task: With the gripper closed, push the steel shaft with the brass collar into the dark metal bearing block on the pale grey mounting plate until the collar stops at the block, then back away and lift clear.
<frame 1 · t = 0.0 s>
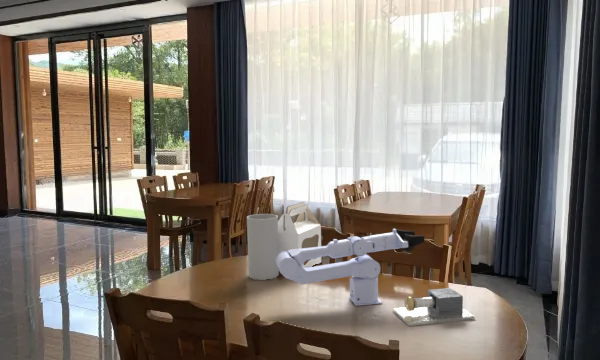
hand: (419, 236, 165), 22 cm above the table, tool horizontal, fingers open, 7 cm apart
cylinder vase: (263, 276, 194), on the table
bearing block: (444, 314, 151), on the table
shaft: (429, 301, 149), point 4 cm above the table, slide at 0.0 cm
gable box: (297, 267, 206), on the table
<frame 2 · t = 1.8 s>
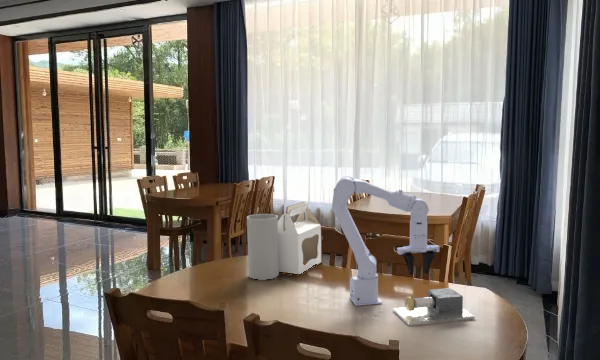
hand: (418, 273, 160), 10 cm above the table, tool pointing down, fingers open, 5 cm apart
nothing on the table moved.
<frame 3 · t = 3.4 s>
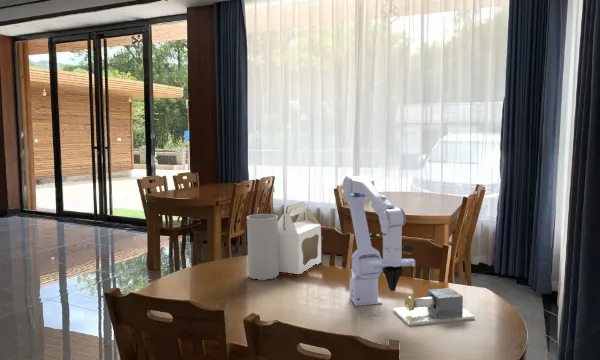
hand: (392, 289, 147), 9 cm above the table, tool pointing down, fingers closed
nothing on the table moved.
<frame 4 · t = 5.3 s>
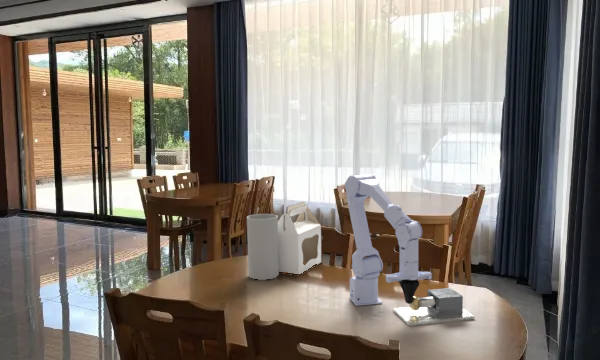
hand: (408, 302, 148), 5 cm above the table, tool pointing down, fingers closed
shaft: (433, 301, 150), point 4 cm above the table, slide at 1.5 cm, touching gripper
everything else where it was.
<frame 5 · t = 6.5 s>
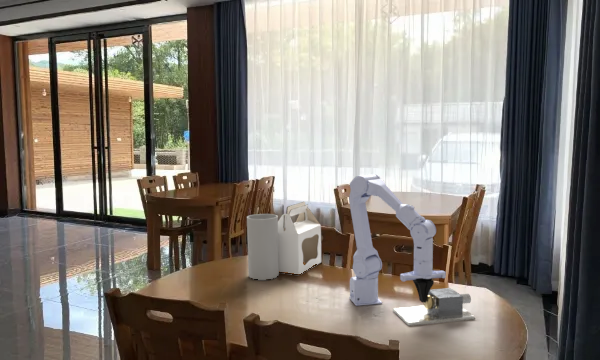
hand: (422, 301, 149), 5 cm above the table, tool pointing down, fingers closed
shaft: (447, 300, 150), point 5 cm above the table, slide at 6.4 cm, touching gripper
everything else where it was.
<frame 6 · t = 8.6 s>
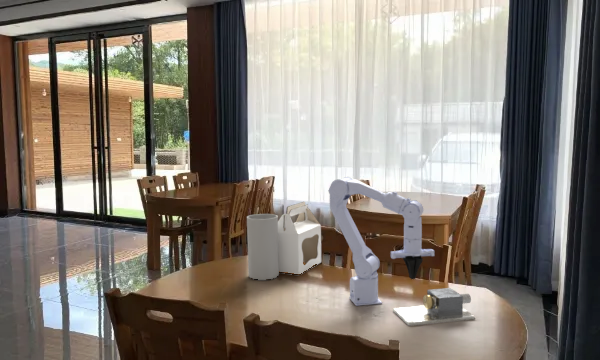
hand: (412, 278, 156), 10 cm above the table, tool pointing down, fingers closed
shaft: (447, 300, 150), point 4 cm above the table, slide at 6.4 cm
everything else where it was.
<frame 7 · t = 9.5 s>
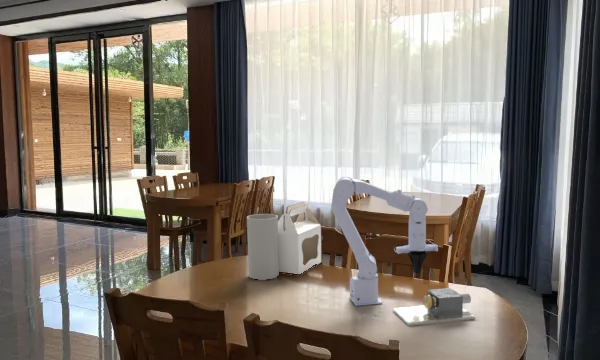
hand: (416, 272, 161), 10 cm above the table, tool pointing down, fingers closed
nothing on the table moved.
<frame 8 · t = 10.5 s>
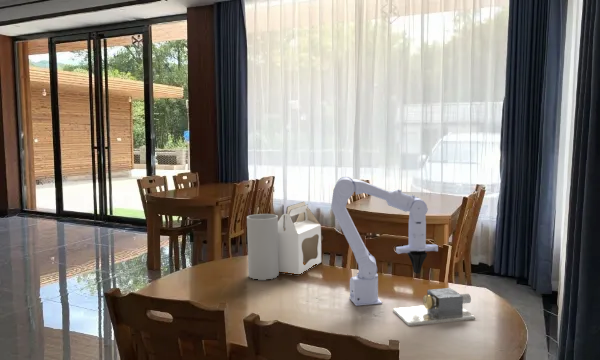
hand: (416, 272, 161), 10 cm above the table, tool pointing down, fingers closed
nothing on the table moved.
at the end: shaft slide at 6.4 cm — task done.
